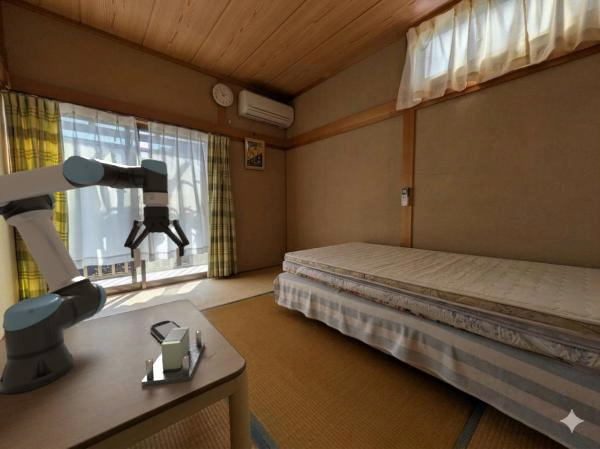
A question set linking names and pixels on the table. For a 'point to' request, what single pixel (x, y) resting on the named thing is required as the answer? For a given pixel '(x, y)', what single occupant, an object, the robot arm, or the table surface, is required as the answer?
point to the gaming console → (163, 329)
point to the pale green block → (175, 348)
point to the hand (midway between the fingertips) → (158, 266)
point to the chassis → (183, 374)
